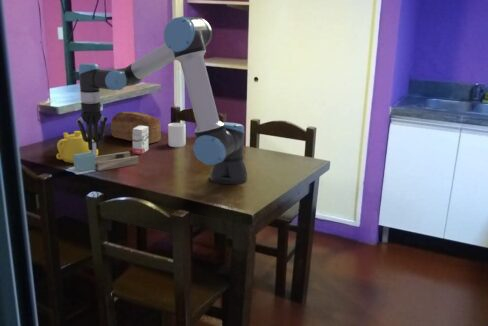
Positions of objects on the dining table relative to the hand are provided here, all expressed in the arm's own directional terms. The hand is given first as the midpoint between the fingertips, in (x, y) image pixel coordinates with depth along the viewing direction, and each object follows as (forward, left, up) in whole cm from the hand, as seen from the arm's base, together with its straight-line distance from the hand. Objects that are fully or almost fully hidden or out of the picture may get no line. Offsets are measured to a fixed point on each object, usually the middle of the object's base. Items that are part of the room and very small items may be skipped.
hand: (93, 157), depth 208 cm
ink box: (+13, -28, -5) cm, 31 cm away
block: (0, +4, -5) cm, 6 cm away
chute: (0, -9, -5) cm, 10 cm away
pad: (0, +6, -5) cm, 7 cm away
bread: (+35, -36, -5) cm, 50 cm away
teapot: (+18, +2, -5) cm, 19 cm away
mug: (+15, -50, -5) cm, 52 cm away
